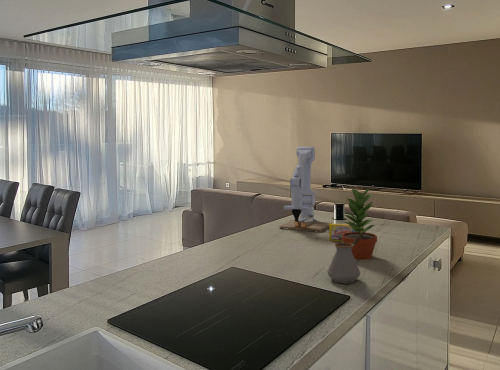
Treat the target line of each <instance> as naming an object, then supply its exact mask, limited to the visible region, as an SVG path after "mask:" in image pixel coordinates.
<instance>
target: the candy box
mask: <svg viewBox="0 0 500 370" xmlns="http://www.w3.org/2000/svg"><path fill="white" fill-rule="evenodd" d="M364 227H365V226H364ZM364 227H362V228H364ZM364 229H365V228H364ZM328 230H329V231H328V233H329V234H328V235H329V236H328V241H330V242H333V241H334V242H343V240H342V234H344V233H348V232H356V231H354V230H353V229H352V227H351V226H350V225H349V224H347V223H332V224H329V228H328Z"/></svg>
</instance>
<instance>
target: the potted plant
mask: <svg viewBox="0 0 500 370" xmlns="http://www.w3.org/2000/svg"><path fill="white" fill-rule="evenodd" d="M371 187H372V186H370V188H367V189H366V190H365V191H364V192H363V193H362V192H360V191H358V190H357V189H354V188H353V187H352V189H351V192H352V194H353V196H354V199H355V200H353V199H352V198H347V197H346V200H347V201H348V208H349V209H350V211H351V212H349V211H347V210H346V211H345V210H344V212H345V213H347V214H344V213H342V215H343V216H344V217H346V218H347V219H348V221H345V220H344V221H340V222H342V223H343V224H348V225H350V226H351V227H352V229H353V230H354V231H356V232H348V233H344V234H342V240H343V241H342V243H350V244H353V242H354V241H355V240H356V238H357V237H358V236H359V235H360V234H361V233H362V232H363V231H364V232H365V233H364V234H363V235H364V236H362V237H361V238H360V240H359V241H358V242H357V243H356V244H355V245H354V246H353V248H352V249H351V251H352V254H353V256H354V258H355V260H361V261H362V260H369V259H371V258H373V253H374V250H375V246H376V243H377V242H378V235H376V234H375V233H371V232H367V231H368V230H370V229H372V228H373V227H375V226H376V225H377V223H375V224H370V223H371V222H373V220H374V218H372V219H365V218H367V217H368V216H369V215H370V213H368V214H367V211H368V210H369V209H371V208H372V207H373V206H374V205H375V203H374V201H371V202H369V203H368V204H366V205H365V203H366V202H367V201H368V200H369V199H370V198H372V196H373V195H374V193H372V194H368V191H369V190H370V189H371ZM364 219H365V220H364ZM368 224H370V225H368ZM366 225H368V226H367V227H365V226H366ZM362 227H365V228H362ZM366 233H367V234H366ZM366 235H367V236H366Z"/></svg>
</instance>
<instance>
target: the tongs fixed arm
mask: <svg viewBox="0 0 500 370" xmlns="http://www.w3.org/2000/svg"><path fill="white" fill-rule="evenodd" d="M313 217H314V218H315V214H314V215H311V214H310V215H308V220H306V221H304V222H301V227H306V226H308V225H310V224H312V223H313Z"/></svg>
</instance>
